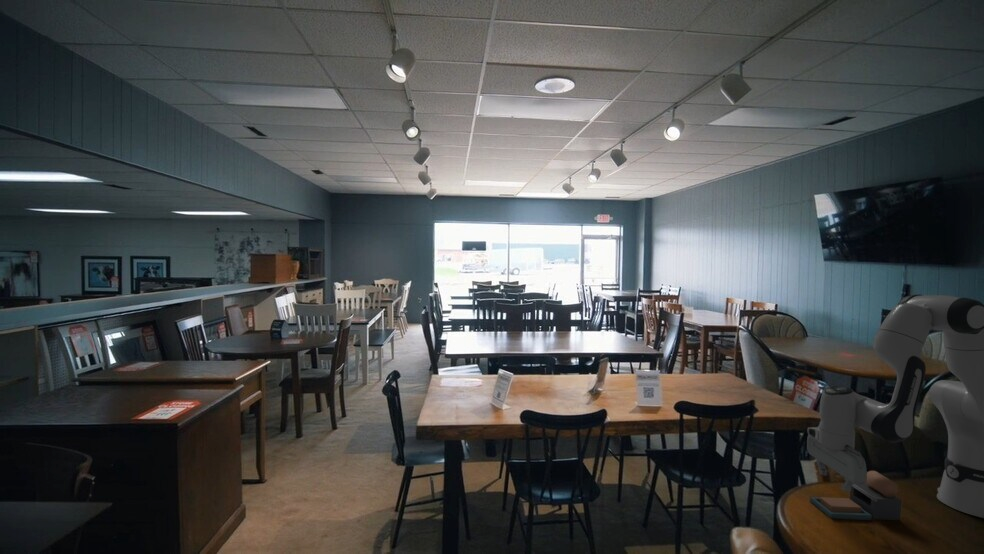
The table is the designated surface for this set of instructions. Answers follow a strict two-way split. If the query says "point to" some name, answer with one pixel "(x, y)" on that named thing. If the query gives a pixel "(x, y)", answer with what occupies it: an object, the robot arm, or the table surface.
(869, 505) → the dispenser
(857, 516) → the tray
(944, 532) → the table surface
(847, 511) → the ticket
